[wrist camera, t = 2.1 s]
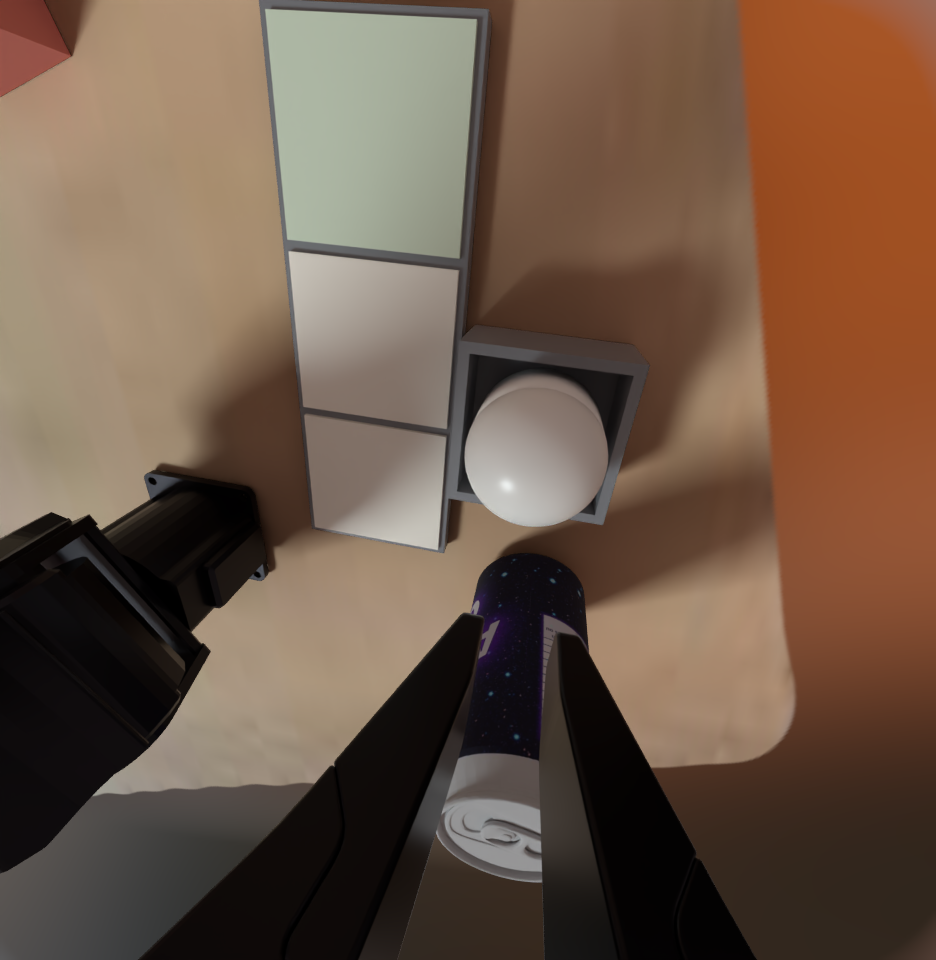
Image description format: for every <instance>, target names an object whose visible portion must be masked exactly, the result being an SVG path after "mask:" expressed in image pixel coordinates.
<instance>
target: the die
mask: <svg viewBox="0 0 936 960" xmlns="http://www.w3.org/2000/svg"><path fill="white" fill-rule="evenodd" d="M69 57H71V55H70V53H69V51H68V49H67V47H66V45H65V43H64V41H63V39H62V37H61V35H60V33H59V30H58V28H57V26H56V24H55V22H54V20H53V18H52V16H51V14H50V12H49V10H48V8H47V6H46V4H45V2H44V0H0V97H1V96H3V95H4V94H6V93H8V92H10V91H11V90H13V89H15V88H17V87H18V86H20V85H22V84H24V83H25V82H27V81H29V80H31V79H32V78H34V77H36V76H38V75H39V74H41V73H43V72H45V71H46V70H48V69H50V68H52V67H53V66H55V65H57V64H59V63H60V62H62V61H64V60H66V59H67V58H69Z"/></svg>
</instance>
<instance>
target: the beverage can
mask: <svg viewBox="0 0 936 960" xmlns="http://www.w3.org/2000/svg"><path fill="white" fill-rule="evenodd" d="M470 614H475V615H480V616H483V617H484V627H483V634H482V640H481V647H480V653H479V658H478V664H477V669H476V675H475V680H474V686H473V691H472V697H471V702H470V708H469V713H468V719H467V724H466V729H465V734H464V739H463V743H462V747H461V751H460V754H459V758H458V761H457V764H456V768H455V771H454V774H453V778H452V781H451V784H450V788H449V791H448V794H447V797H446V801H445V804H444V807H443V811H442V814H441V817H440V821H439V824H438V827H437V831H436V834H437V836H438V838H439V840H440V841H441V842H442V844H443V845H444V846H445V847H446V848H447V849H448V850H449V851H450V852H451V853H452V854H453V855H455V856H456V857H457V858H459V859H460V860H462V861H464V862H465V863H467V864H469V865H471V866H473V867H475V868H477V869H480V870H482V871H484V872H487V873H490V874H493V875H496V876H500V877H504V878H508V879H513V880H519V881H526V882H542V858H541V825H540V791H539V752H540V737H541V725H542V713H543V700H544V688H545V676H546V667H547V662H548V658H549V655H550V651H551V647H552V644H553V640H554V636H555V634H556V633H557V632H563V633H568V634H573V635H577V636H579V637H580V638H581V640H582V642H583V644H584V645H585V647H586V649H587V651H588V653H589V647H588V635H587V623H586V610H585V598H584V590H583V587H582V585H581V583H580V581H579V579H578V578H577V576H576V575H575V574H574V573H573V572H572V571H571V570H570V569H569V568H568V567H567V566H565V565H564V564H562V563H560V562H559V561H557V560H555V559H552V558H550V557H547V556H543V555H538V554H531V553H520V554H513V555H508V556H505V557H502V558H500V559H498V560H496V561H494V562H493V563H491V564H490V565H489V566H488V567H487V568H486V569H485V570H484V571H483V572H482V574H481V576H480V577H479V580H478V583H477V587H476V592H475V596H474V600H473V605H472V609H471V613H470Z"/></svg>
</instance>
